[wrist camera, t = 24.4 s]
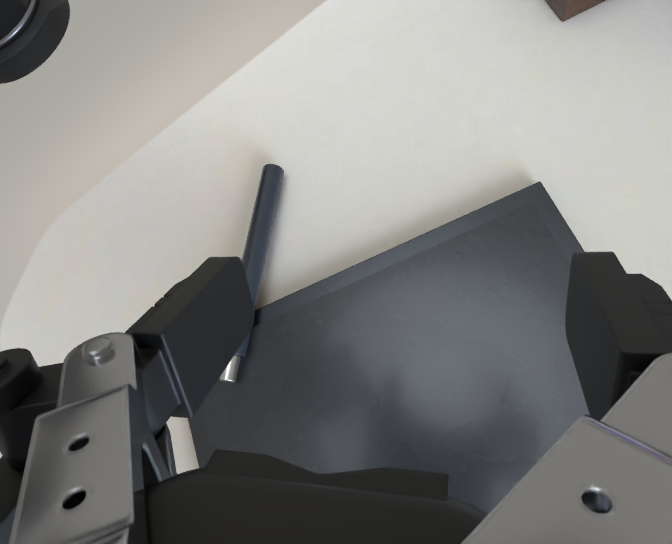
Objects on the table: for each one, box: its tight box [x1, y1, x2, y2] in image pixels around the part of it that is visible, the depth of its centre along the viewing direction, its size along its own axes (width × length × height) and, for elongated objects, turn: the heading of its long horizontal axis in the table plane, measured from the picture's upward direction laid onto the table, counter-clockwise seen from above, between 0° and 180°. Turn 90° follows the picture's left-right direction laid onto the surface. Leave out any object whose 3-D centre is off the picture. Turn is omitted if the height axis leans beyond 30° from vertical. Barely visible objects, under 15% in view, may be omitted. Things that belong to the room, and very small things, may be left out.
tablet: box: [188, 182, 590, 514], centre depth 25 cm, size 24×16×1 cm, turn 110°
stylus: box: [220, 164, 284, 383], centre depth 29 cm, size 1×1×14 cm
